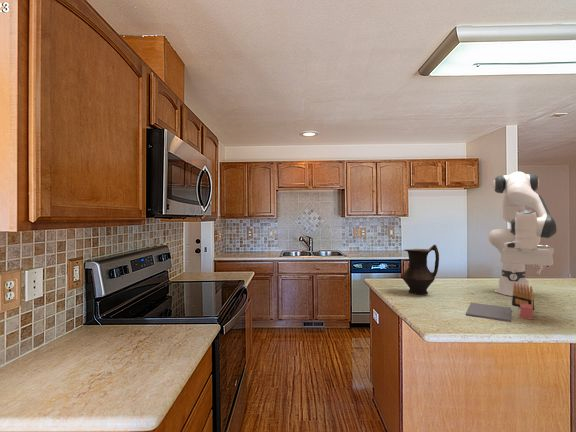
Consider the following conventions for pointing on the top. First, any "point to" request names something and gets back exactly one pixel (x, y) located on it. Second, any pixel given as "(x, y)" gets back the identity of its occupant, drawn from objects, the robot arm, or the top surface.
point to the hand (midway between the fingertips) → (526, 273)
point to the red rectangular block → (526, 311)
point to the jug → (420, 270)
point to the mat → (489, 311)
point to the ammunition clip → (522, 295)
